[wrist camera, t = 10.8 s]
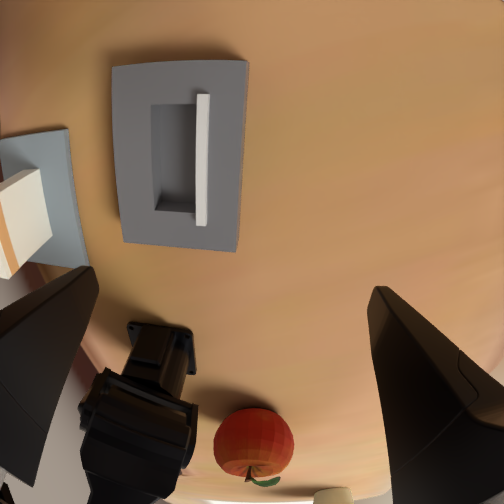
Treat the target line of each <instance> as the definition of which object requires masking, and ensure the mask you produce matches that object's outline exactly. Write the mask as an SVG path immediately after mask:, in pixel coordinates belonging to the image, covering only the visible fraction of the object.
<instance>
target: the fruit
mask: <svg viewBox="0 0 504 504" xmlns="http://www.w3.org/2000/svg"><path fill="white" fill-rule="evenodd" d="M293 450H294V440H293V435H292V433H291V431H290V428H289V426H288V425H287V423H286V422H285V421H284V420H283V419H282V417H280V416H279V415H278V414H276V413H274V412H272V411H269V410H266V409H261V408H249V409H242V410H239V411H236V412H234V413H232V414H231V415H229V416H228V417H227V418H225V419H224V421H223V422H222V424H221V425H220V427H219V428H218V430H217V431H216V434H215V437H214V456H215V459H216V462H217V463H218V465H219V466H220V467H221V468H222V469H223V470H224V471H225V472H226V473H229V474H231V475H236V476H241V477H246V479H245V482H249V481H252V482H253V483H254V484H257V485H259V486H262V487H268V486H272V485H276V484H277V483H278V482H279V480H280V477H276V478H273V479H270V480H268V481H258V482H257V481H256V480H255V479H254V478H253V477H265V476H272V475H275V474H278V473H280V472H282V471H283V470H284V469H285V468H286V467H287V465H288V464H289V462H290V460H291V458H292V455H293Z"/></svg>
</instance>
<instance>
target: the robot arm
mask: <svg viewBox="0 0 504 504" xmlns="http://www.w3.org/2000/svg"><path fill="white" fill-rule="evenodd" d="M98 293H99V285H98V281H97V278H96V274H95V271H94V269H93V267H91V266H85V265H81V266H79V267H77V268H75V269H73V270H72V271H70V272H68V273H66V274H64V275H62V276H60V277H58V278H56V279H55V280H53V281H51V282H49V283H47V284H45V285H44V286H42V287H40V288H38V289H36V290H35V291H33V292H31V293H29V294H27V295H26V296H24V297H22V298H20V299H19V300H17V301H15V302H13V303H12V304H10V305H8V306H7V307H5V308H3V310H0V504H15V503H14V501H13V498H12V495H11V493H10V490H9V487H8V484H6V483H5V482H4V479H5V476H6V473H9V474H10V475H12V476H13V477H15V478H17V479H18V480H20V481H22V482H23V483H25V484H27V485H29V486H31V487H33V486H34V483H35V479H36V475H37V471H38V467H39V463H40V459H41V455H42V452H43V448H44V444H45V441H46V438H47V434H48V431H49V428H50V424H51V421H52V418H53V415H54V412H55V409H56V406H57V403H58V400H59V397H60V395H61V392H62V389H63V386H64V384H65V381H66V378H67V376H68V373H69V371H70V368H71V365H72V363H73V360H74V358H75V355H76V353H77V351H78V348H79V346H80V343H81V341H82V339H83V336H84V334H85V331H86V329H87V326H88V323H89V320H90V317H91V314H92V311H93V308H94V305H95V302H96V299H97V296H98ZM367 316H368V325H369V335H370V345H371V354H372V360H373V365H374V370H375V375H376V380H377V386H378V391H379V397H380V403H381V408H382V414H383V421H384V427H385V434H386V441H387V449H388V456H389V465H390V474H391V485H392V495H393V504H504V386H503V385H501V384H500V383H499V382H498V381H496V380H495V379H494V378H493V377H491V376H490V375H489V374H488V373H487V372H485V371H484V370H483V369H482V368H480V367H479V366H478V365H477V364H476V363H475V362H474V361H473V360H471V359H470V358H469V357H468V356H467V355H466V354H465V353H464V352H463V351H462V350H459V348H458V347H457V346H456V345H455V344H454V343H453V342H452V341H450V340H449V339H448V338H447V337H446V336H445V335H444V334H443V333H441V332H440V331H439V330H438V329H437V328H436V327H435V326H434V325H432V324H431V323H430V322H429V321H428V320H427V319H426V318H424V317H423V316H422V315H421V314H420V313H419V312H417V311H416V310H415V309H414V308H413V307H412V306H410V305H409V304H408V303H407V302H406V301H405V300H403V299H402V298H401V297H400V296H399V295H397V294H396V293H395V292H394V291H393V290H391V289H390V288H389V287H387V286H376V287H374V289H373V292H372V295H371V298H370V301H369V304H368V308H367ZM127 330H128V334H129V337H130V341H131V344H132V347H133V348H132V350H131V352H130V354H129V357H128V359H127V361H126V364H125V366H124V369H123V371H122V373H121V375H119V374H117V373H115V372H113V371H111V369H109V368H107V367H105V369H104V371H103V373H100V374H96V376H95V378H94V380H93V383H92V385H91V387H90V388H89V390H88V391H87V393H86V394H85V396H84V397H83V399H82V400H81V402H80V403H79V405H78V411H79V413H80V416H81V417H80V421H81V423H80V429H81V430H82V431H85V432H86V433H85V436H84V439H83V443H82V446H81V449H80V455H81V461H82V466H83V469H84V470H85V473H86V476H87V480H88V483H89V486H90V490H91V493H90V496H89V499H88V503H87V504H153V503H155V502H156V501H158V500H159V499H160V498H162V499H166V498H167V497H168V496H169V495H170V494H171V493H172V492H173V491H174V490H175V486H176V482H177V479H178V476H179V473H180V470H181V469H185V468H186V467H187V466H188V464H189V462H190V460H191V458H192V455H193V452H194V448H195V444H196V437H197V420H198V405H197V404H194V403H192V404H191V403H188V402H185V401H183V400H180V397H181V393H182V389H183V385H184V381H185V377H186V374H188V375H195V374H196V371H197V368H196V358H195V348H194V337H193V333H192V332H191V331H190V330H184V329H177V328H170V327H163V326H156V325H150V324H144V323H137V322H129V323H128V324H127Z"/></svg>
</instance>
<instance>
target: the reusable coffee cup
mask: <svg viewBox="0 0 504 504" xmlns="http://www.w3.org/2000/svg"><path fill="white" fill-rule="evenodd" d="M313 504H354V502H353V497H352V493H351V489H350V488H346V487H339V488H330V489H324V490H320V491H318V492H316V493H315V494H314V502H313Z"/></svg>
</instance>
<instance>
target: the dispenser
mask: <svg viewBox="0 0 504 504" xmlns="http://www.w3.org/2000/svg"><path fill="white" fill-rule="evenodd" d="M248 76H249V62H248V61H240V60H183V61H164V62H151V63H140V64H131V65H122V66H115V67H112V128H113V147H114V162H115V174H116V184H117V194H118V203H119V211H120V219H121V227H122V234H123V240H124V242H126V243H137V244H147V245H158V246H169V247H180V248H192V249H203V250H214V251H225V252H236V249H237V244H238V239H239V225H240V206H241V188H242V171H243V154H244V137H245V122H246V106H247V91H248Z"/></svg>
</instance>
